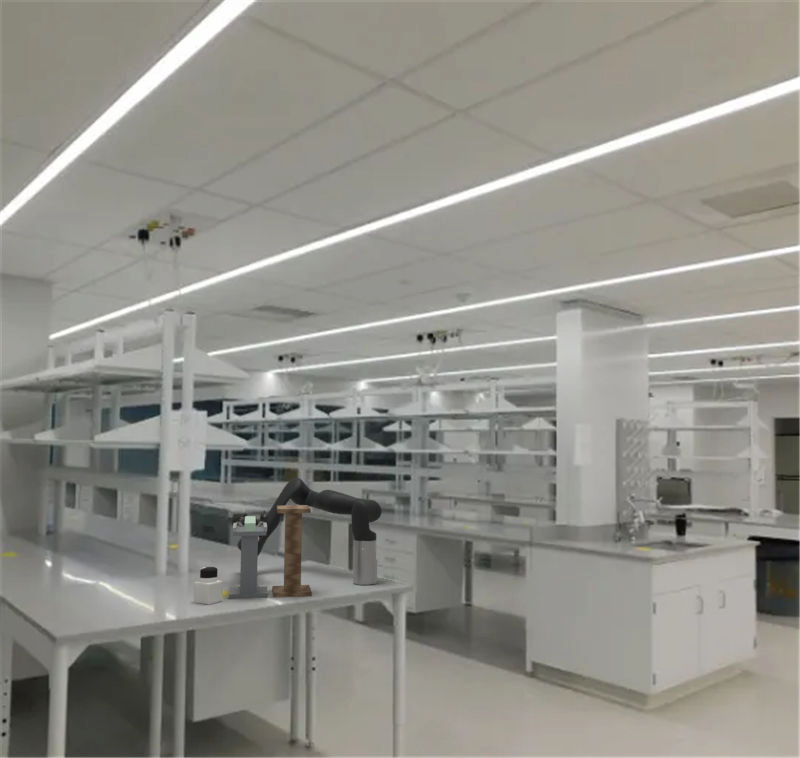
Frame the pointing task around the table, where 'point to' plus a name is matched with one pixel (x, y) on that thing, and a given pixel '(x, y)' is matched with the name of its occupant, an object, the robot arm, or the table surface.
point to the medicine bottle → (208, 587)
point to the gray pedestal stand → (249, 564)
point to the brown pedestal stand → (292, 553)
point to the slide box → (250, 524)
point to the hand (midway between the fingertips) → (250, 514)
